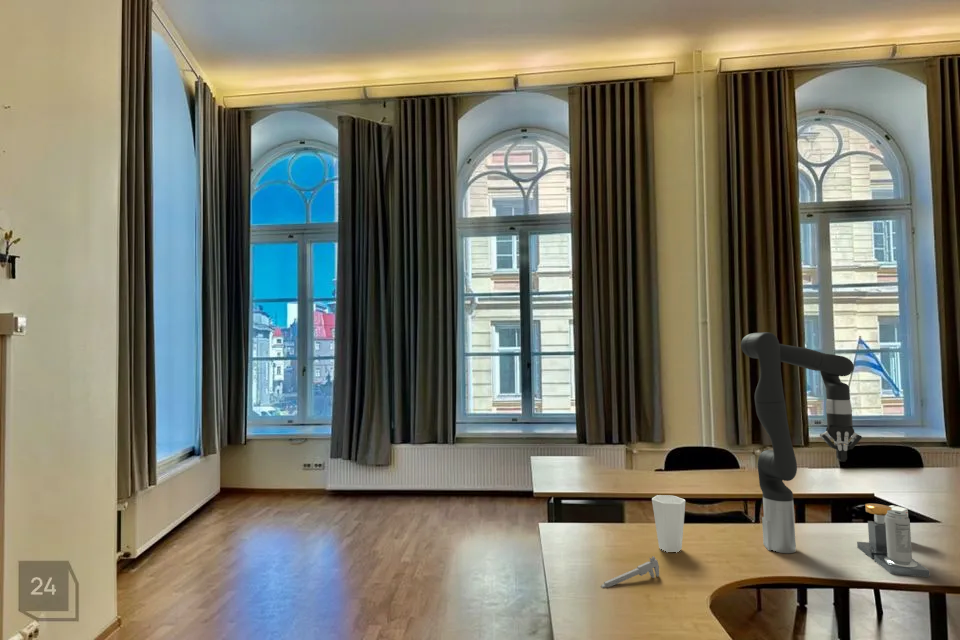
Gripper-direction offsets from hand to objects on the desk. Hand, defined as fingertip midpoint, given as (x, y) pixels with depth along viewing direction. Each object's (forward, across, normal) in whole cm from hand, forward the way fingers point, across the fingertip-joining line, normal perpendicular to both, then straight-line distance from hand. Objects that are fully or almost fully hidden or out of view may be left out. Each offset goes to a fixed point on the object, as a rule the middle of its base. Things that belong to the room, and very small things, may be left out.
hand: (841, 460), depth 182 cm
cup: (+29, +61, +19) cm, 70 cm away
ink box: (+29, -18, -6) cm, 35 cm away
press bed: (+29, -7, +20) cm, 36 cm away
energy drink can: (+27, -7, +20) cm, 34 cm away
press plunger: (+22, -7, +8) cm, 25 cm away
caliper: (+30, +75, +48) cm, 94 cm away
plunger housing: (+29, -7, +8) cm, 31 cm away
